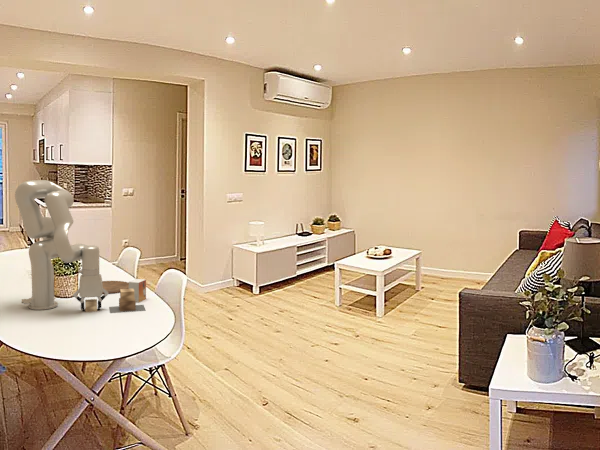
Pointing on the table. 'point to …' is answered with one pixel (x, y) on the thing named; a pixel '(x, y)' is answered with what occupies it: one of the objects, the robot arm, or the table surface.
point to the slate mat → (117, 310)
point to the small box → (138, 289)
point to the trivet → (114, 286)
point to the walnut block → (127, 305)
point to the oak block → (127, 294)
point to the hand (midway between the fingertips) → (91, 309)
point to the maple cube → (90, 305)
